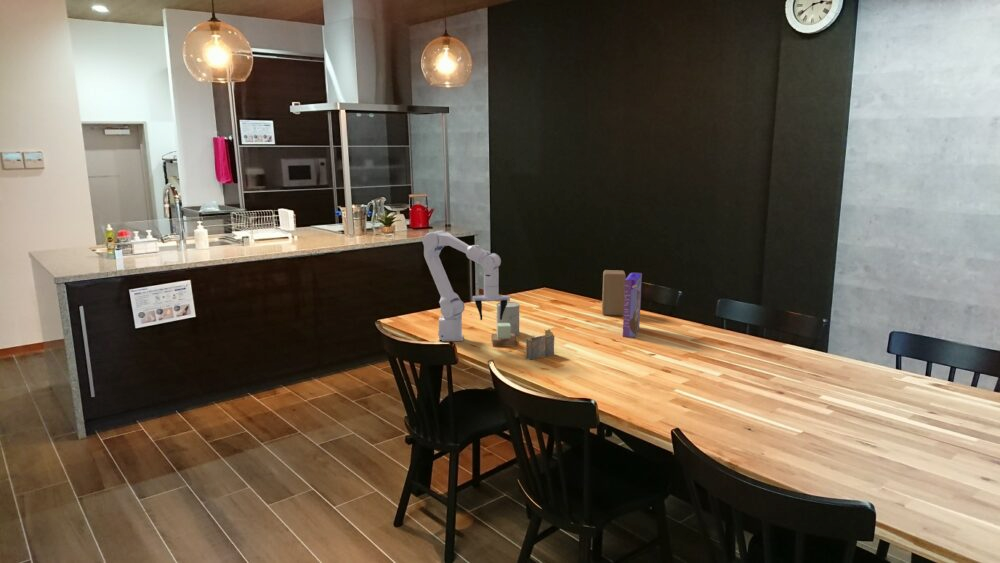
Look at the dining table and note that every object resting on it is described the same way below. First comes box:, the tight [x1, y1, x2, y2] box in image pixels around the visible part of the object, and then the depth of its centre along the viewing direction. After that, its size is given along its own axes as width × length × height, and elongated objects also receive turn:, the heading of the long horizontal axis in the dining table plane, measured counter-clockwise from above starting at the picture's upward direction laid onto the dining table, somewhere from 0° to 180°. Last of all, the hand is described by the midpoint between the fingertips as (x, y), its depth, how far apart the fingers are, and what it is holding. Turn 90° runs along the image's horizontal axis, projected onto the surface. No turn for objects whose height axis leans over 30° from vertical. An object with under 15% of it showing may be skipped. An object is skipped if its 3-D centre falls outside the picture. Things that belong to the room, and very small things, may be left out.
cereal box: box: [622, 272, 643, 339], centre depth 263 cm, size 17×5×24 cm, turn 161°
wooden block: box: [601, 269, 627, 317], centre depth 294 cm, size 10×10×20 cm
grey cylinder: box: [496, 301, 520, 336], centre depth 261 cm, size 10×10×12 cm
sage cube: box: [496, 322, 511, 339], centre depth 247 cm, size 5×5×5 cm
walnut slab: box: [491, 333, 517, 347], centre depth 248 cm, size 9×9×2 cm
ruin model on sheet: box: [525, 328, 555, 361], centre depth 231 cm, size 11×3×10 cm, turn 128°
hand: (491, 319), depth 245 cm, fingers open, 7 cm apart
